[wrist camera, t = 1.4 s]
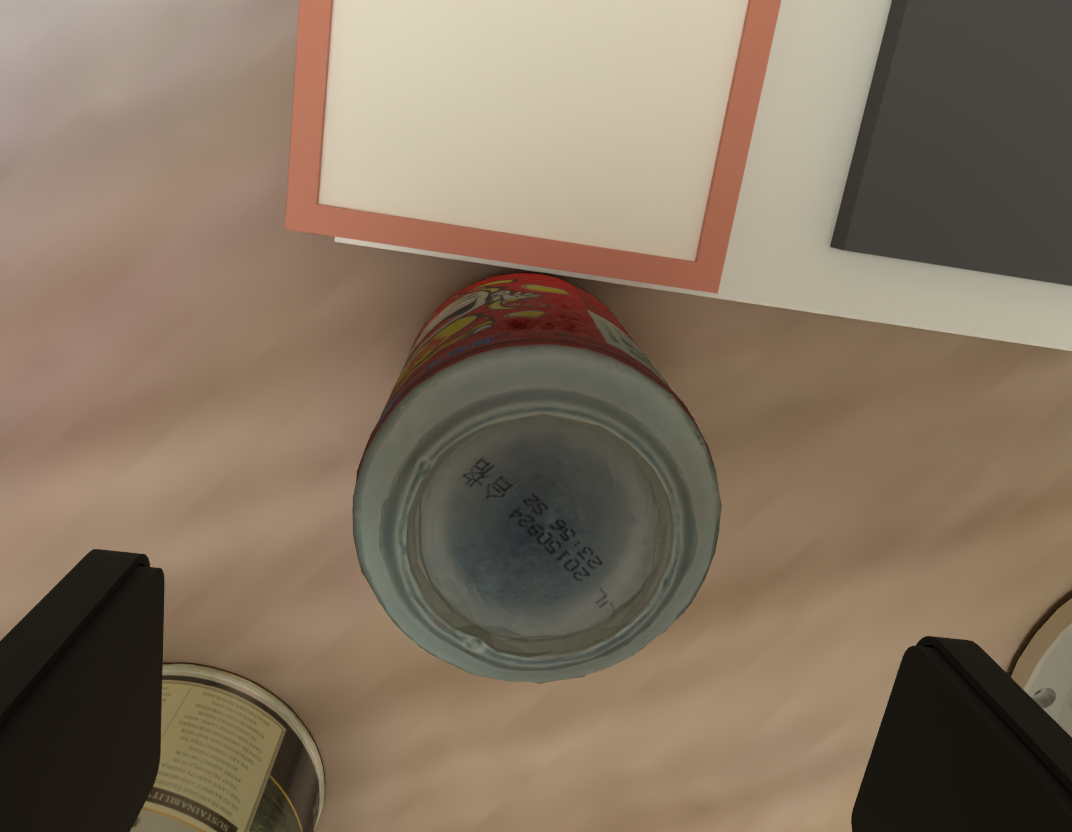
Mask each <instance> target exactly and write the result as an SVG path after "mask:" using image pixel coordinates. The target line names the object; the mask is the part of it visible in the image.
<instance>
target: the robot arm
mask: <svg viewBox="0 0 1072 832" xmlns="http://www.w3.org/2000/svg"><path fill="white" fill-rule="evenodd" d="M163 622H164V573H163V570H162V569H161V568H153V567H150V563H149V559H148V557H147V556H146V555H145V554H138V553H128V552H119V551H109V550H99V549H93V550H92V551H90V552H89V553H88V554H87V555H86V556H85V557H84V558H83V559H82V560H81V561H80V562H79V563H78V564H77V565H76V566H75V567H74V568H73V569H72V570H71V571H70V572H69V573H68V574H67V575H66V576H65V577H64V578H63V579H62V580H61V581H60V582H59V583H58V584H57V585H56V586H55V587H54V588H53V589H52V590H51V591H50V592H49V593H48V594H47V595H46V596H45V597H44V598H43V599H42V600H41V601H40V602H39V603H38V604H37V605H36V606H35V607H34V608H33V609H32V610H31V611H30V612H29V613H28V614H27V615H26V616H25V617H24V618H23V619H22V620H21V621H20V622H19V623H18V624H17V625H16V626H15V627H14V628H13V629H12V630H11V631H10V632H9V633H8V634H7V635H6V636H5V637H4V638H3V639H2V640H1V641H0V832H130V830H131V829H132V827H133V825H134V823H135V821H136V819H137V817H138V815H139V813H140V811H141V809H142V808H143V806H144V804H145V802H146V800H147V798H148V796H149V794H150V792H151V790H152V788H153V786H154V783H155V780H156V777H157V773H158V769H159V764H160V755H161V712H162V667H163ZM851 824H852V832H1072V598H1071V599H1070V600H1069V601H1067V602H1066V603H1065V604H1064V605H1062V606H1061V607H1060V608H1059V609H1057V611H1056V612H1055V613H1054V614H1053V615H1052V616H1051V617H1050V618H1049V619H1048V620H1047V622H1046V623H1045V624H1044V625H1043V626H1042V627H1041V628H1040V629H1039V630H1038V631H1037V632H1036V634H1035V635H1034V637H1033V638H1032V640H1031V641H1030V643H1029V644H1028V646H1027V647H1026V649H1025V650H1024V652H1023V653H1022V655H1021V656H1020V658H1019V660H1018V661H1017V664H1016V666H1015V668H1014V671H1013V673H1012V676H1011V677H1010V676H1009V675H1008V674H1007V673H1006V672H1005V671H1004V670H1003V669H1002V668H1001V667H1000V666H999V665H998V664H997V663H996V662H995V661H994V660H993V659H992V658H991V657H990V656H989V655H988V654H987V653H986V652H985V651H984V650H983V649H981V648H980V647H979V646H978V645H977V644H976V643H974V642H973V641H969V640H961V639H951V638H942V637H932V636H926V637H924V638H922V639H921V640H920V641H919V642H918V643H917V645H916V646H911V647H909V648H908V649H907V650H906V651H905V653H904V656H903V658H902V661H901V664H900V667H899V670H898V673H897V676H896V679H895V682H894V686H893V689H892V692H891V695H890V698H889V701H888V704H887V707H886V710H885V713H884V716H883V719H882V722H881V725H880V728H879V731H878V734H877V737H876V740H875V744H874V747H873V750H872V753H871V756H870V759H869V762H868V765H867V768H866V771H865V774H864V777H863V780H862V783H861V786H860V789H859V792H858V795H857V799H856V802H855V805H854V808H853V812H852V821H851Z"/></svg>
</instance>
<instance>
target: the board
mask: <svg viewBox="0 0 1072 832" xmlns="http://www.w3.org/2000/svg"><path fill="white" fill-rule="evenodd" d="M891 3H892V0H781V4H780V9H779V14H778V18H777V23H776V27H775V32H774V37H773V41H772V46H771V50H770V55H769V60H768V64H767V69H766V73H765V78H764V83H763V87H762V92H761V96H760V101H759V106H758V110H757V115H756V120H755V124H754V129H753V133H752V138H751V143H750V147H749V152H748V156H747V161H746V166H745V170H744V175H743V179H742V184H741V189H740V193H739V198H738V202H737V207H736V212H735V216H734V221H733V225H732V230H731V235H730V239H729V244H728V249H727V253H726V258H725V262H724V267H723V272H722V276H721V281H720V285H719V290H718V294H717V293H710V292H703V291H697V290H690V289H683V288H677V287H670V286H663V285H656V284H650V283H643V282H636V281H630V280H623V279H616V278H609V277H603V276H596V275H589V274H583V273H576V272H569V271H562V270H556V269H549V268H542V267H536V266H529V265H522V264H516V263H509V262H502V261H495V260H489V259H482V258H475V257H469V256H462V255H455V254H448V253H442V252H435V251H428V250H422V249H415V248H408V247H401V246H395V245H388V244H381V243H375V242H368V241H361V240H355V239H348V238H341V237H335V242H340V243H347V244H354V245H361V246H367V247H374V248H381V249H388V250H394V251H401V252H408V253H414V254H421V255H428V256H435V257H441V258H448V259H455V260H462V261H468V262H475V263H482V264H489V265H495V266H502V267H509V268H515V269H522V270H529V271H536V272H542V273H549V274H556V275H563V276H569V277H576V278H583V279H590V280H596V281H603V282H610V283H616V284H623V285H630V286H637V287H643V288H650V289H657V290H664V291H670V292H677V293H684V294H691V295H697V296H704V297H711V298H717V299H724V300H731V301H738V302H744V303H751V304H758V305H765V306H771V307H778V308H785V309H792V310H798V311H805V312H812V313H818V314H825V315H832V316H839V317H845V318H852V319H859V320H866V321H872V322H879V323H886V324H893V325H899V326H906V327H913V328H919V329H926V330H933V331H940V332H946V333H953V334H960V335H967V336H973V337H980V338H987V339H994V340H1000V341H1007V342H1014V343H1021V344H1027V345H1034V346H1041V347H1047V348H1054V349H1061V350H1068V351H1072V286H1068V285H1062V284H1056V283H1049V282H1043V281H1036V280H1030V279H1024V278H1017V277H1011V276H1004V275H998V274H992V273H985V272H979V271H972V270H966V269H960V268H953V267H947V266H940V265H934V264H928V263H921V262H915V261H908V260H902V259H896V258H889V257H883V256H876V255H870V254H864V253H857V252H851V251H845V250H840V249H836V248H832V247H830V244H831V240H832V236H833V232H834V228H835V224H836V220H837V216H838V213H839V209H840V205H841V201H842V197H843V193H844V189H845V185H846V181H847V177H848V173H849V169H850V165H851V161H852V157H853V153H854V149H855V145H856V141H857V137H858V133H859V129H860V125H861V121H862V117H863V113H864V110H865V106H866V102H867V98H868V94H869V90H870V86H871V82H872V78H873V74H874V70H875V66H876V62H877V58H878V54H879V50H880V46H881V42H882V38H883V34H884V30H885V26H886V22H887V18H888V14H889V10H890V7H891Z"/></svg>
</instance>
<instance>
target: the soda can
mask: <svg viewBox="0 0 1072 832" xmlns="http://www.w3.org/2000/svg"><path fill="white" fill-rule="evenodd" d="M720 513H721V501H720V495H719V489H718V482H717V475H716V470H715V467H714V464H713V460H712V457H711V454H710V451H709V448H708V445H707V443H706V441H705V440H704V438H703V436H702V434H701V432H700V430H699V428H698V426H697V424H696V422H695V420H694V418H693V417H692V415H691V414H690V412H689V411H688V409H687V407H686V406H685V404H684V403H683V402H682V401H681V400H680V399H679V397H678V396H677V395H676V394H675V393H674V392H673V391H672V390H671V388H670V387H669V386H668V384H667V383H666V381H665V380H664V378H663V377H662V376H661V375H660V374H659V373H658V371H657V370H656V369H655V368H654V366H653V365H652V364H651V363H650V361H649V360H648V359H647V357H646V356H645V355H644V353H643V352H642V351H641V350H640V349H639V347H638V346H637V345H636V343H635V342H634V341H633V339H632V338H631V337H630V336H629V334H628V333H627V332H626V330H625V329H624V328H623V327H622V325H621V324H620V323H619V322H618V321H617V319H616V318H615V317H614V316H613V314H612V313H611V312H610V311H609V309H608V308H607V307H606V306H604V305H603V304H602V303H601V302H600V301H598V300H597V299H596V298H595V297H593V296H592V295H591V294H589V293H588V292H586V291H584V290H583V289H581V288H579V287H577V286H574V285H572V284H570V283H568V282H566V281H564V280H562V279H559V278H555V277H551V276H548V275H544V274H530V273H514V274H506V275H499V276H493V277H490V278H487V279H485V280H482V281H479V282H477V283H474V284H472V285H471V286H469V287H467V288H465V289H463V290H461V291H459V292H457V293H455V294H454V295H453V296H451V297H450V298H449V299H448V300H447V301H446V302H445V303H443V304H442V305H441V306H440V307H439V308H438V309H437V310H436V311H435V312H434V314H433V315H432V316H431V317H430V318H429V320H428V321H427V322H426V323H425V325H424V326H423V328H422V330H421V331H420V333H419V335H418V336H417V338H416V340H415V341H414V343H413V346H412V349H411V351H410V353H409V356H408V359H407V361H406V363H405V365H404V367H403V370H402V372H401V374H400V376H399V378H398V380H397V382H396V384H395V386H394V388H393V390H392V393H391V395H390V397H389V400H388V402H387V404H386V406H385V408H384V410H383V413H382V415H381V417H380V419H379V421H378V423H377V425H376V427H375V428H374V430H373V432H372V433H371V436H370V438H369V440H368V443H367V445H366V448H365V451H364V453H363V456H362V459H361V462H360V465H359V468H358V470H357V479H356V486H355V491H354V495H353V536H354V541H355V546H356V551H357V556H358V560H359V563H360V567H361V570H362V573H363V575H364V576H365V578H366V579H367V581H368V582H369V584H370V586H371V588H372V589H373V591H374V593H375V595H376V597H377V599H378V601H379V602H380V604H381V605H382V607H383V608H384V610H385V611H386V613H387V614H388V615H389V617H390V618H391V619H392V621H393V622H394V623H395V624H396V625H397V626H398V627H399V628H400V629H401V630H402V631H403V632H404V633H405V634H406V635H407V636H408V637H409V638H410V639H412V640H413V641H414V642H415V643H416V644H417V645H418V646H420V647H421V648H423V649H424V650H425V651H427V652H428V653H430V654H432V655H434V656H436V657H438V658H440V659H442V660H444V661H446V662H448V663H450V664H452V665H454V666H456V667H458V668H460V669H462V670H464V671H467V672H469V673H471V674H476V675H480V676H484V677H489V678H494V679H500V680H505V681H515V682H533V683H538V684H541V683H546V682H550V681H557V680H564V679H571V678H579V677H584V676H586V675H587V674H590V673H593V672H596V671H600V670H603V669H606V668H608V667H610V666H613V665H615V664H617V663H619V662H621V661H623V660H625V659H627V658H629V657H631V656H633V655H634V654H635V653H637V652H638V651H640V650H641V649H643V648H644V647H645V646H646V645H647V644H648V643H649V642H651V641H652V640H653V639H654V638H656V637H657V636H659V635H660V634H662V633H663V632H665V631H666V630H667V629H668V628H669V627H670V626H671V624H672V623H673V622H674V621H675V620H676V619H677V618H678V617H679V616H680V615H682V614H683V613H684V611H685V610H686V609H687V608H688V607H689V605H690V604H691V603H692V601H693V599H694V598H695V596H696V594H697V592H698V590H699V589H700V587H701V585H702V583H703V582H704V580H705V577H706V574H707V572H708V569H709V567H710V564H711V561H712V559H713V556H714V554H715V550H716V544H717V539H718V533H719V524H720Z"/></svg>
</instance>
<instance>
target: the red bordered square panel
mask: <svg viewBox="0 0 1072 832" xmlns="http://www.w3.org/2000/svg"><path fill="white" fill-rule="evenodd" d="M780 4H781V0H300V3H299V19H298V35H297V51H296V66H295V82H294V98H293V114H292V130H291V146H290V161H289V177H288V193H287V209H286V225H285V229H287V230H294V231H301V232H308V233H314V234H321V235H328V236H334V237H341V238H348V239H355V240H361V241H368V242H375V243H381V244H388V245H395V246H401V247H408V248H415V249H422V250H428V251H435V252H442V253H448V254H455V255H462V256H469V257H475V258H482V259H489V260H495V261H502V262H509V263H516V264H522V265H529V266H536V267H542V268H549V269H556V270H562V271H569V272H576V273H583V274H589V275H596V276H603V277H609V278H616V279H623V280H630V281H636V282H643V283H650V284H656V285H663V286H670V287H677V288H683V289H690V290H697V291H703V292H710V293H717V294H718V290H719V285H720V281H721V276H722V272H723V267H724V262H725V258H726V253H727V249H728V244H729V239H730V235H731V230H732V225H733V221H734V216H735V212H736V207H737V202H738V198H739V193H740V189H741V184H742V179H743V175H744V170H745V166H746V161H747V156H748V152H749V147H750V143H751V138H752V133H753V129H754V124H755V120H756V115H757V110H758V106H759V101H760V96H761V92H762V87H763V83H764V78H765V73H766V69H767V64H768V60H769V55H770V50H771V46H772V41H773V37H774V32H775V27H776V23H777V18H778V14H779V9H780Z"/></svg>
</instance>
